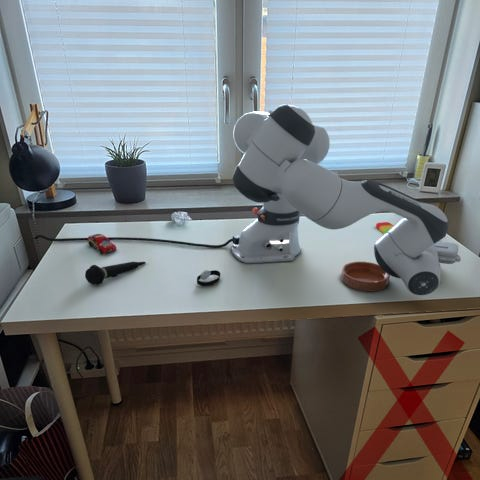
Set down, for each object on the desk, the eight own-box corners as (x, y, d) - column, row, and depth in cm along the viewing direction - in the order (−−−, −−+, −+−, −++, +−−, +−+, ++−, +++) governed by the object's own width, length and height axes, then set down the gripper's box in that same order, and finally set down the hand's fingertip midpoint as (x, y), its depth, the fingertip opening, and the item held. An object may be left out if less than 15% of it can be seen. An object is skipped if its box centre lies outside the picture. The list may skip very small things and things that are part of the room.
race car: (119, 253, 143) (117, 241, 141) (103, 257, 140) (101, 245, 138) (101, 240, 152) (100, 229, 150) (86, 244, 149) (84, 232, 147)
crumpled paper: (192, 214, 163) (174, 215, 161) (191, 225, 165) (174, 226, 163) (186, 207, 169) (169, 208, 167) (186, 218, 171) (169, 219, 169)
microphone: (141, 271, 138) (84, 287, 125) (137, 253, 137) (79, 267, 123) (152, 271, 135) (94, 287, 121) (148, 253, 133) (89, 266, 119)
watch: (214, 275, 130) (214, 264, 128) (224, 281, 127) (224, 270, 125) (193, 283, 126) (192, 272, 124) (203, 289, 123) (202, 278, 121)
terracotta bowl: (356, 294, 121) (358, 285, 119) (332, 274, 132) (334, 265, 130) (397, 287, 125) (399, 278, 123) (371, 268, 135) (372, 259, 134)
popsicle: (387, 226, 165) (388, 221, 164) (410, 241, 153) (411, 236, 152) (374, 227, 164) (375, 222, 163) (396, 243, 152) (397, 238, 151)
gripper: (465, 251, 115) (458, 232, 126) (383, 242, 120) (384, 224, 131) (458, 273, 118) (452, 252, 130) (379, 263, 123) (380, 244, 134)
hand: (417, 238), depth 130 cm, fingers open, 8 cm apart
